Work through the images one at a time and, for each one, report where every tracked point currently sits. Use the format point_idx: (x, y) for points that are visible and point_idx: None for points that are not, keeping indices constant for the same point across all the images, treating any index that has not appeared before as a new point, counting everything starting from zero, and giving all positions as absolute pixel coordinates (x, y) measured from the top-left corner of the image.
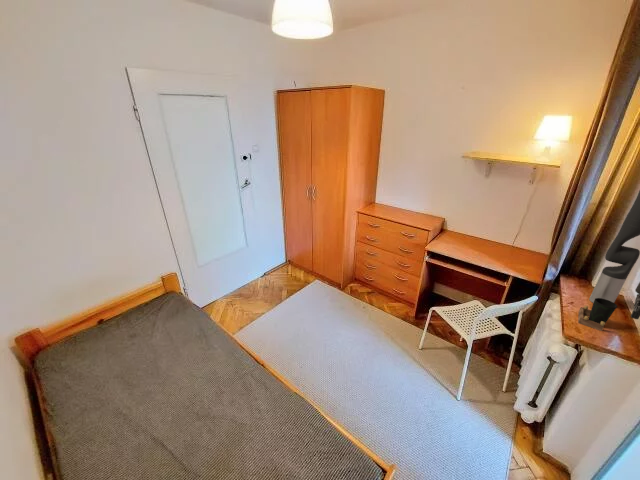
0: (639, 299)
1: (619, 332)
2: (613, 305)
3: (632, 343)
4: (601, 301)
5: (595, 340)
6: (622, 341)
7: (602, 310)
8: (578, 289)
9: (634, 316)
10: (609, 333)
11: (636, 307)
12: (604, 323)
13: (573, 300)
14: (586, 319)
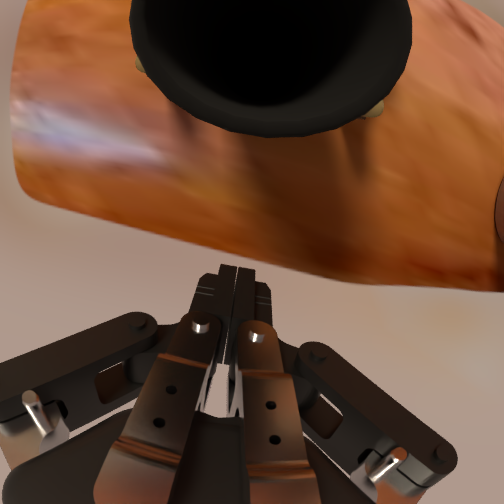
0: (96, 493)
1: (217, 182)
2: (306, 114)
3: (125, 218)
4: (377, 20)
5: (41, 53)
6: (110, 173)
7: (172, 5)
8: None
9: (197, 287)
10: (161, 120)
11: (182, 354)
12: (139, 68)
13: (498, 59)
14: None
